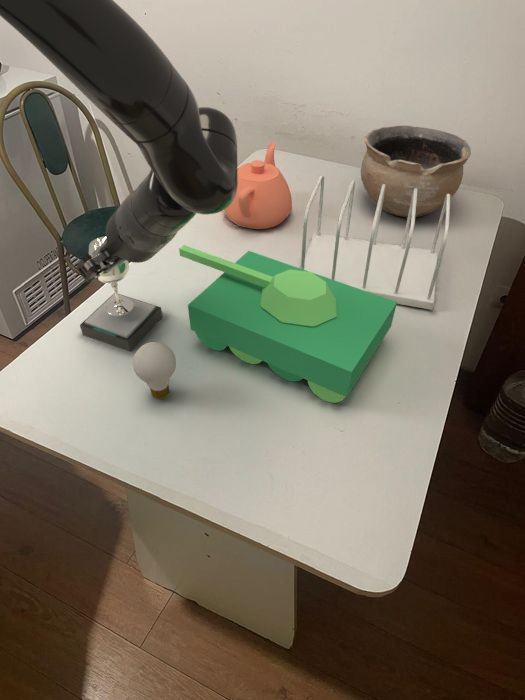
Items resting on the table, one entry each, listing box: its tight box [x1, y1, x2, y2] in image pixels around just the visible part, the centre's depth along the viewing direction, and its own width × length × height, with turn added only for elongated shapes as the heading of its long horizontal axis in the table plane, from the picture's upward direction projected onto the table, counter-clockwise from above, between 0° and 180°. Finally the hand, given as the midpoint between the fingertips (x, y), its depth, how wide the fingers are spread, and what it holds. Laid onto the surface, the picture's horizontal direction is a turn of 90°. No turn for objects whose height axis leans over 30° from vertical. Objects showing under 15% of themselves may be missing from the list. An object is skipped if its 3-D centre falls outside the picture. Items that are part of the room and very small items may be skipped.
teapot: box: [223, 142, 293, 230], centre depth 111 cm, size 22×15×12 cm
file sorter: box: [299, 174, 451, 310], centre depth 94 cm, size 25×17×16 cm
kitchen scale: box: [79, 292, 163, 352], centre depth 87 cm, size 10×10×3 cm
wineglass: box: [88, 236, 133, 316], centre depth 81 cm, size 6×6×12 cm
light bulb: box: [132, 341, 177, 400], centre depth 73 cm, size 6×6×10 cm
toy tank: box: [178, 244, 398, 404], centre depth 82 cm, size 18×12×35 cm
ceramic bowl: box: [360, 125, 472, 218], centre depth 113 cm, size 22×22×15 cm
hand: (103, 267), depth 81 cm, fingers closed on wineglass, 5 cm apart
